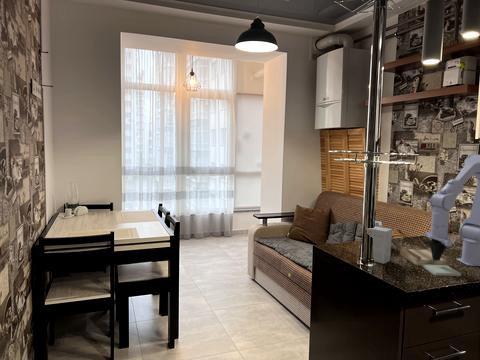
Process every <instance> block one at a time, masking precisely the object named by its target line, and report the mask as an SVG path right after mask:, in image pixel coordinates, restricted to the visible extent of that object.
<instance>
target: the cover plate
mask: <svg viewBox="0 0 480 360" xmlns="http://www.w3.org/2000/svg"><path fill="white" fill-rule="evenodd" d="M420 267H422V268H424V269H425V270H427V272H430V273H431V274H432V275H434V276H449V277H462V273H461V272H459V271H457V270H456V269H454V268H452V267H449V266H447V265H444V264H421V266H420Z"/></svg>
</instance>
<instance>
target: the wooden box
mask: <svg viewBox="0 0 480 360" xmlns="http://www.w3.org/2000/svg"><path fill="white" fill-rule="evenodd" d="M399 254H400V256H402V257H403V258H405V259H406V260H408V261H409V262H411V263H412V264H413V265H415V266H418V267H422V266H421V264H444V265H447V266H449V267H450V266H451V260H450V257H448V256H446V255H444V254H442V256H441V258H440V260H433V258H432V252H431V248H430V247H427V249H412V248H411V249H410V248H407V247H405V246H401V248H400V253H399Z"/></svg>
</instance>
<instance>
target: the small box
mask: <svg viewBox="0 0 480 360" xmlns="http://www.w3.org/2000/svg"><path fill="white" fill-rule="evenodd" d="M366 230H367V234H368V235H369V236H370V237H372V238H373V258H374V261H373V262H375V263H379V264H383V265H384V264H386V263H388V262H390V261H391V253H392V239H393V238H392V237H393V229H392V228H386V227H383V226H382V227H376V226H375V227H374V228H367V227H366Z"/></svg>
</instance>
